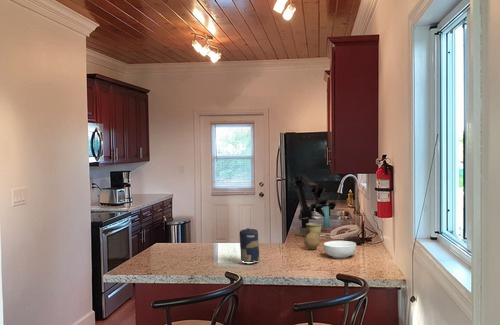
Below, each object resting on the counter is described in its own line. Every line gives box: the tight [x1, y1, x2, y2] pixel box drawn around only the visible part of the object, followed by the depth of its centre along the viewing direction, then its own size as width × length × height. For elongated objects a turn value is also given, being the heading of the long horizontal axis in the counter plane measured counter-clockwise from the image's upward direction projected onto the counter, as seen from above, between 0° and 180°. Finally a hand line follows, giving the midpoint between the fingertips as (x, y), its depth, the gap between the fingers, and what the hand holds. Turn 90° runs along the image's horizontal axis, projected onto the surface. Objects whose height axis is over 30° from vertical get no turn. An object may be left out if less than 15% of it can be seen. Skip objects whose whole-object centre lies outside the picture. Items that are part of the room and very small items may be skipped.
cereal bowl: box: [323, 240, 357, 259], centre depth 224 cm, size 17×17×7 cm
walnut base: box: [294, 228, 308, 237], centre depth 295 cm, size 12×12×4 cm
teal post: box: [322, 206, 331, 229], centre depth 293 cm, size 4×4×14 cm
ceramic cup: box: [306, 222, 323, 239], centre depth 277 cm, size 13×10×10 cm
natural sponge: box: [303, 232, 321, 251], centre depth 245 cm, size 9×9×10 cm
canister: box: [239, 227, 260, 262], centre depth 221 cm, size 10×10×18 cm
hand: (327, 216), depth 292 cm, fingers closed on teal post, 4 cm apart
